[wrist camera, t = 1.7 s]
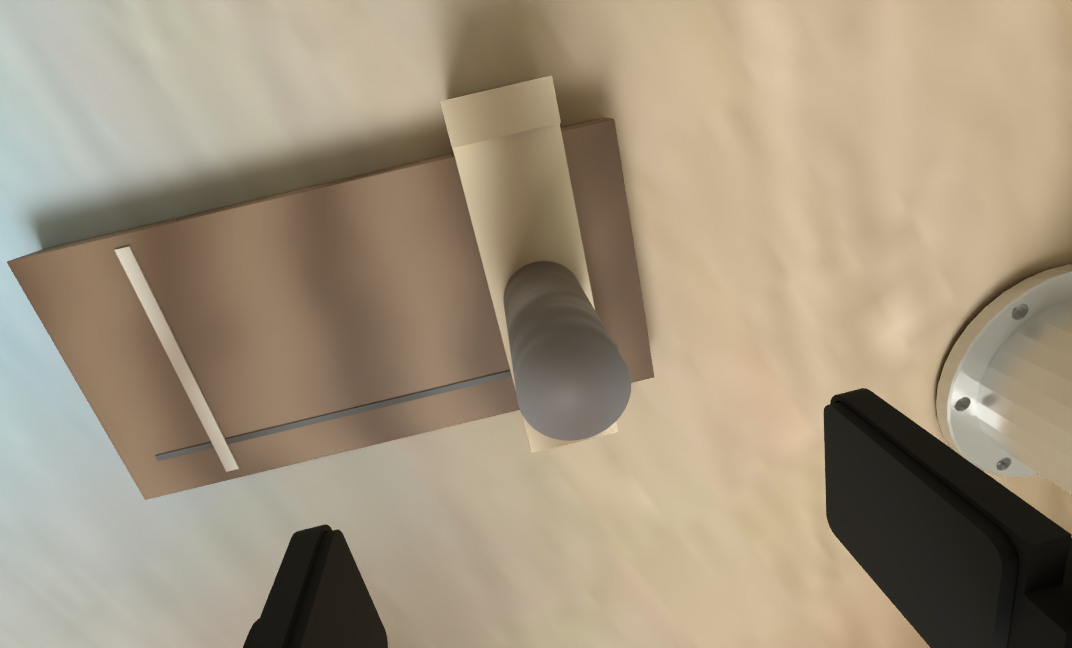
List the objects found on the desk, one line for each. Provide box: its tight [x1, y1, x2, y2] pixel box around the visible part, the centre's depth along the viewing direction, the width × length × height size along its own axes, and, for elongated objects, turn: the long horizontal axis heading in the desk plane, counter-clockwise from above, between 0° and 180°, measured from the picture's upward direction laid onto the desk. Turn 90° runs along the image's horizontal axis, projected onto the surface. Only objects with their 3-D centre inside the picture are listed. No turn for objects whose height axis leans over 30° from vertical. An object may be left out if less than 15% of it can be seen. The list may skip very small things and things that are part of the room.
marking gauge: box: [440, 75, 631, 453], centre depth 21 cm, size 4×15×12 cm, turn 12°
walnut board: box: [7, 118, 654, 500], centre depth 26 cm, size 25×12×2 cm, turn 102°
